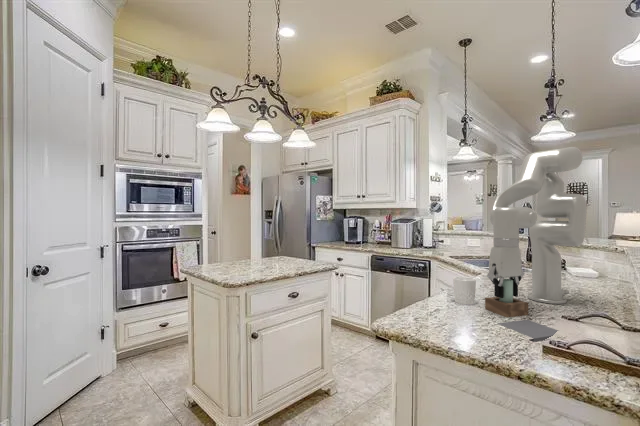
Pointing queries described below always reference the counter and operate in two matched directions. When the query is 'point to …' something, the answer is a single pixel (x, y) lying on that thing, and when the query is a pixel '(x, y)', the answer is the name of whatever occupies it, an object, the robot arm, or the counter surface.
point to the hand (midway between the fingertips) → (506, 295)
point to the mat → (530, 329)
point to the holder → (506, 307)
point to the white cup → (464, 290)
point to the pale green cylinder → (507, 291)
